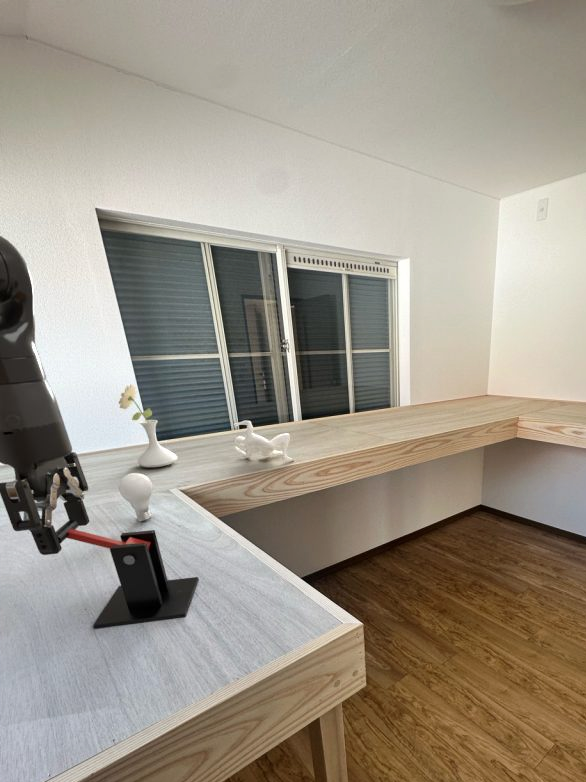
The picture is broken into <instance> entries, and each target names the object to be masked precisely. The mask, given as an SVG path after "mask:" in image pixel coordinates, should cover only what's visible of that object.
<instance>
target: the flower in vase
mask: <svg viewBox="0 0 586 782" xmlns="http://www.w3.org/2000/svg"><path fill="white" fill-rule="evenodd" d="M136 394H137V388H136V386H134V385H133V384H132V383H131V384H129V385H126V387H125V388H124V392H122V393H120V396H121V397H120V399H119V401H118V405H119V408H120V409H123V410H127V409H128V408H129V407H130V406H131V405H132V404H133V403H134V404H135V406H136V407H137V409H138V411H137V412H135V413H134V414H133V415H132V418H131V420H132V421H138V420H140V418H141V416H143V419H144V420H141V421H139V422H138V423H139V424H140V425H141V426H142V427H143V429H144V430H145V433H146V435H147V439H148V447H147V448H146V449H145V450H144V451H143V452H142V453H141V455H139V456H138V459H137V460H136V463H137V465H139V466H140V467H144V468H160V467H165V466H169V465H171V464H173V463H175V462H176V461H178V456H177V455H176V453H174V452H172V451H171V450H169V449H167V448H165V447H163V446H162V445H160V443H159V442H158V439H157V435H156V434H157V433H156V427H157V423H158V420H157V419H147V418H149V417H152V415H153V412H152V410H151V408H150V407H148V408H146V409H145V410H144V411H142V410H141V408H140V406H139V405H138V403H137V402H136V401H135V398H136Z"/></svg>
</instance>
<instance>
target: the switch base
mask: <svg viewBox="0 0 586 782" xmlns="http://www.w3.org/2000/svg"><path fill="white" fill-rule="evenodd" d="M119 537H120V541H122V542H127V540H128V539H129V538H130V537H132V538H136V539H140V540H144V541H147V542H151V543H150V547H149V550H148V547H147V543H135V544H125V545H115V546H112V547H111V548H109V552H110V555H111V558H112V561H113V564H114V567H115V571H116V574H117V578H118V580H119V584H120V585H118V586H117V588H116V589H115V591H114V593H113V594H112V595H111V597H110V598H109V600H108V602H107V603H106V605H105V606H104V607H103V609H102V610H101V612H100V614H99V615H98V617H97V619H96V620H95V621H94V623H93V624H92V627H93V630H98V629H104V628H105V629H106V628H113V627H119V626H121V627H122V626H127V625H128V626H129V625H134V624H135V625H137V624H143V623H152V622H159V621H165V620H173V619H182V618H186V617H187V614H188V612H189V609H190V607H191V603H192V601H193V597H194V595H195V593H196V590H197V587H198V584H199V576H194V577H185V578H176V579H175V578H174V579H168V577H167V572H166V569H165V568H166V567H165V566H164V562H163V561H164V560H163V557H162V553H161V550H160V546H159V542H158V537H157V534H156V530H155V529H150V530H140V531H139V530H138V531H129V532H122V533H121V534H120V535H119Z"/></svg>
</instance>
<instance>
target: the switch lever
mask: <svg viewBox="0 0 586 782" xmlns="http://www.w3.org/2000/svg"><path fill="white" fill-rule="evenodd" d="M78 527H79V526H78V523H77V522H76V521H74V520H69V519H68V520H67V521H66V522H65V523H64V524H63V525H62V526H61V527H59V528H58V529H57V530H55V532H56V534H57V537H58V540H59V542H60V545H61V544H62V543H63V542H64V541H65V540H66V539H69V540H73V541H78V542H82V543H86V544H88V545H89V544H90V545H93V546H98V547H102V548H105V549H110V548H111V547H112V546H115V545H125V544H135V543H147V547H148V550H149V547H150V543H151V542H147V541H144V540H140V539H136V538H132V537H130V538H129V539H128V540H127V542H122V541H121V540H117V539H114V538H110V537H106V536H102V535H97V534H94V533H90V532H86V531H82V530H79V529H78Z"/></svg>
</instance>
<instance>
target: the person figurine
mask: <svg viewBox="0 0 586 782" xmlns="http://www.w3.org/2000/svg"><path fill="white" fill-rule="evenodd" d="M240 425H241V426H242V425H244V426H246V430H245V436H236V437H235V438H234V443H235V444H236V445H238V446H243V447H244V448H245V451H244V450H241V449H240V448H239V447H238V446H233V450H234V451H235V452H238V454H240V455H241V456H242V457H243V458H244V459H246V458H247V459H249V458H252V457H253V456H254V454H255V453H257V452H258V453H259V455H261V456H263V457H271V456H276V455H281V459H282V460H287V461H292V460H291V459H292V458H291V457H289V456H288V454H287V449H288V446H289V444H290V439H291V434H290V433H281V434H277V435H276V436H275V437H273V438H272V439H270V440H268V439H267V438H265V437H263V436H261V435H258V434H256V433H254V426H253V424H252V421H251V420H247V419H246V420H242V421H239V422H233V426H234V427H237V426H240ZM280 447H281V450H276V449H278V448H280Z"/></svg>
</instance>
